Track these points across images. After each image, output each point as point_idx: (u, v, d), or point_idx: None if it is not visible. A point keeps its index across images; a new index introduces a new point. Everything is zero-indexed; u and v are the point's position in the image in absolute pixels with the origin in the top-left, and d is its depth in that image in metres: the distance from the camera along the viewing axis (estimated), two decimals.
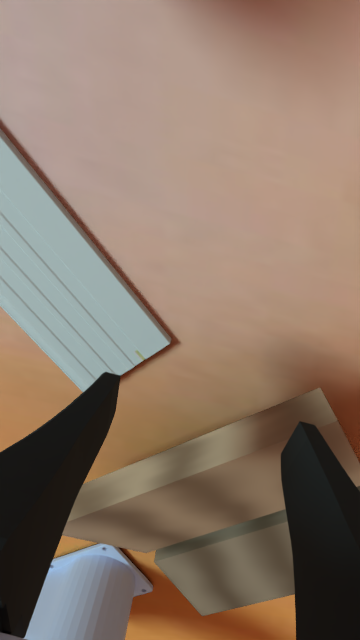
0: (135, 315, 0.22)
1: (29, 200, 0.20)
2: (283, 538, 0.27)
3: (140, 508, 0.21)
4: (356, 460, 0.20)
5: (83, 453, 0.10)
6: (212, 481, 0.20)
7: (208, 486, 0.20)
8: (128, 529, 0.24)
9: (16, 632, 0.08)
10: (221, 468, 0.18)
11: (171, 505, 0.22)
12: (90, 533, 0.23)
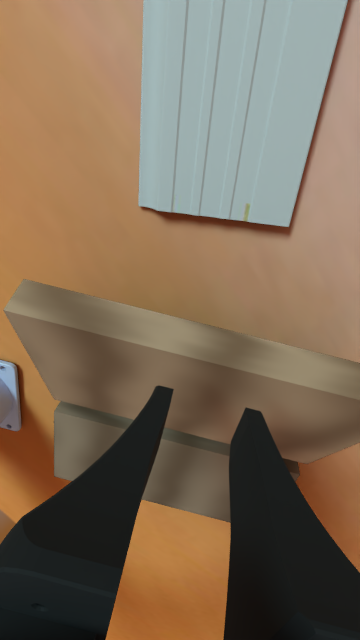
0: (291, 164, 0.16)
1: None
2: (194, 461, 0.26)
3: (138, 362, 0.17)
4: (344, 447, 0.20)
5: (148, 470, 0.10)
6: (240, 387, 0.17)
7: (226, 388, 0.17)
8: (85, 371, 0.19)
9: None
10: (273, 383, 0.15)
11: (164, 380, 0.18)
12: (44, 349, 0.18)
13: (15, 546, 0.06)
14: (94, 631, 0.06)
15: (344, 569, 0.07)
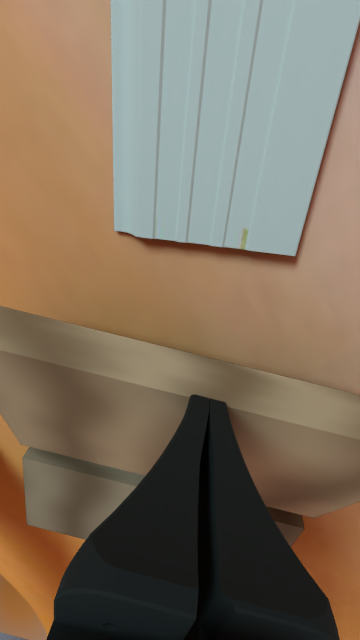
0: (299, 182, 0.13)
1: None
2: None
3: (116, 401, 0.14)
4: None
5: None
6: (239, 431, 0.14)
7: None
8: (55, 412, 0.16)
9: None
10: (279, 426, 0.13)
11: (148, 423, 0.15)
12: (4, 385, 0.15)
13: (89, 566, 0.06)
14: None
15: (280, 552, 0.07)
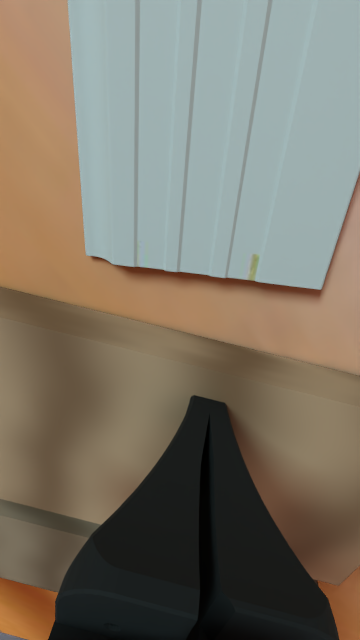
0: (329, 193, 0.10)
1: None
2: None
3: (116, 387, 0.13)
4: None
5: None
6: (251, 419, 0.13)
7: (233, 425, 0.13)
8: (39, 420, 0.14)
9: None
10: (295, 403, 0.12)
11: (148, 422, 0.13)
12: None
13: (91, 566, 0.06)
14: None
15: (280, 552, 0.07)
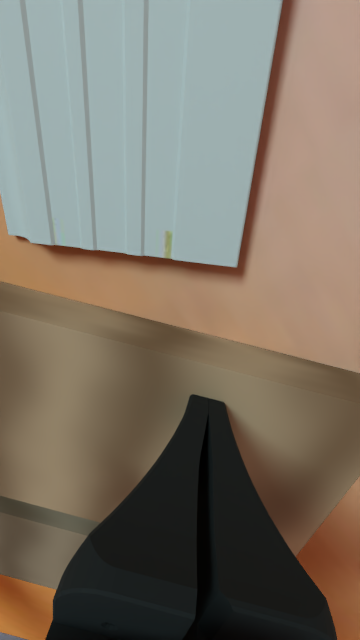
0: (231, 166, 0.09)
1: None
2: None
3: (41, 363, 0.13)
4: (325, 515, 0.15)
5: None
6: (174, 395, 0.13)
7: (157, 402, 0.13)
8: None
9: None
10: (214, 378, 0.12)
11: (76, 399, 0.13)
12: None
13: (88, 566, 0.06)
14: None
15: (279, 552, 0.07)
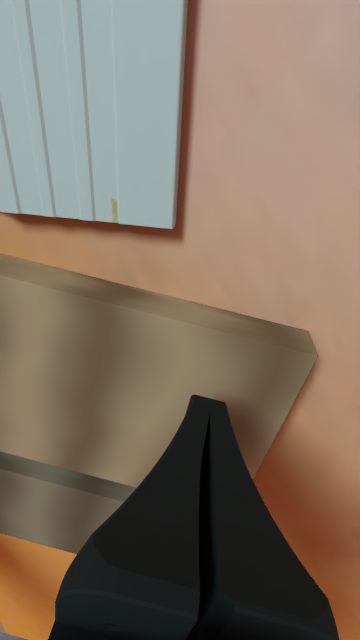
0: (158, 141, 0.11)
1: None
2: (100, 510, 0.22)
3: (10, 316, 0.15)
4: (264, 454, 0.17)
5: None
6: (124, 343, 0.15)
7: (111, 349, 0.15)
8: None
9: None
10: (156, 326, 0.14)
11: (42, 349, 0.15)
12: None
13: (91, 566, 0.06)
14: None
15: (280, 553, 0.07)
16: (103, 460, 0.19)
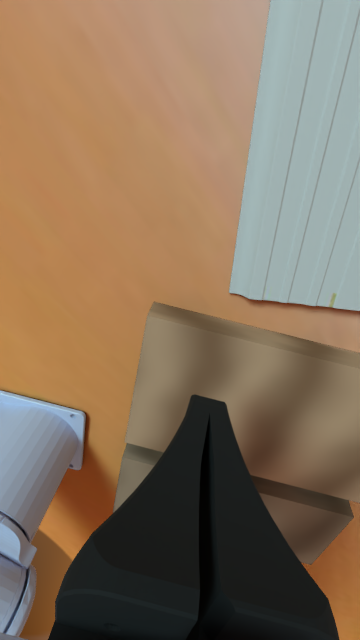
0: None
1: None
2: None
3: (240, 365, 0.21)
4: None
5: None
6: (321, 384, 0.21)
7: (310, 388, 0.21)
8: (183, 387, 0.23)
9: None
10: (350, 374, 0.20)
11: (256, 387, 0.22)
12: (158, 360, 0.22)
13: (91, 566, 0.06)
14: None
15: (280, 552, 0.07)
16: (273, 465, 0.25)
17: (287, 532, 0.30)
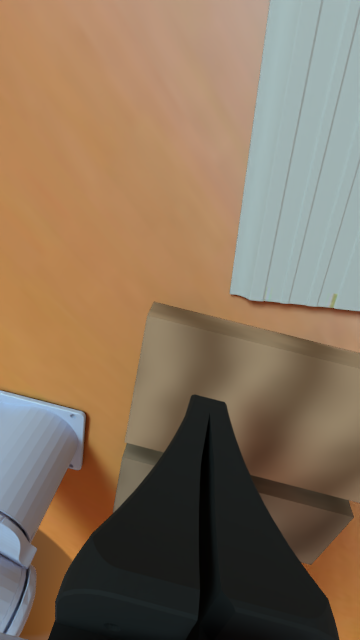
0: None
1: None
2: None
3: (240, 365, 0.21)
4: None
5: None
6: (321, 384, 0.21)
7: (310, 388, 0.21)
8: (183, 387, 0.23)
9: None
10: (350, 374, 0.20)
11: (256, 387, 0.22)
12: (158, 360, 0.22)
13: (91, 566, 0.06)
14: None
15: (280, 552, 0.07)
16: (273, 465, 0.25)
17: (287, 532, 0.30)
